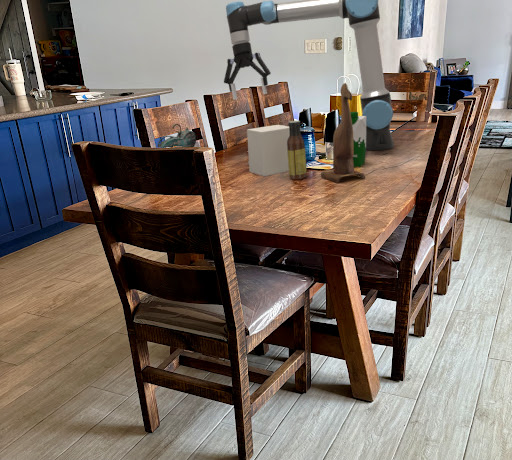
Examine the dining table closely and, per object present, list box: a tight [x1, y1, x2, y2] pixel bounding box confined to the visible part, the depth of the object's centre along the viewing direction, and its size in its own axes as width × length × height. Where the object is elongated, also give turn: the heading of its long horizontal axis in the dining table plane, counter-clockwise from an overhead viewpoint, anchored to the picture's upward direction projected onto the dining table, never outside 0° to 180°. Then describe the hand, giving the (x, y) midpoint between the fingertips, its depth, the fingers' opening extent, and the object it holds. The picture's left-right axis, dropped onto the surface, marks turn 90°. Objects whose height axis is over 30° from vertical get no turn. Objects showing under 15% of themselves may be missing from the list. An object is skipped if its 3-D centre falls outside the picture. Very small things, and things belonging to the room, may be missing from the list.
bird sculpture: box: [320, 82, 366, 184], centre depth 171 cm, size 11×12×32 cm
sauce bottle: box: [287, 120, 308, 180], centre depth 177 cm, size 7×6×20 cm
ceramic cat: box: [157, 123, 197, 148], centre depth 186 cm, size 20×6×20 cm, turn 145°
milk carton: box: [350, 111, 367, 168], centre depth 191 cm, size 9×9×20 cm
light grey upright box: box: [246, 124, 290, 177], centre depth 196 cm, size 22×16×16 cm
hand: (250, 96), depth 212 cm, fingers open, 13 cm apart
